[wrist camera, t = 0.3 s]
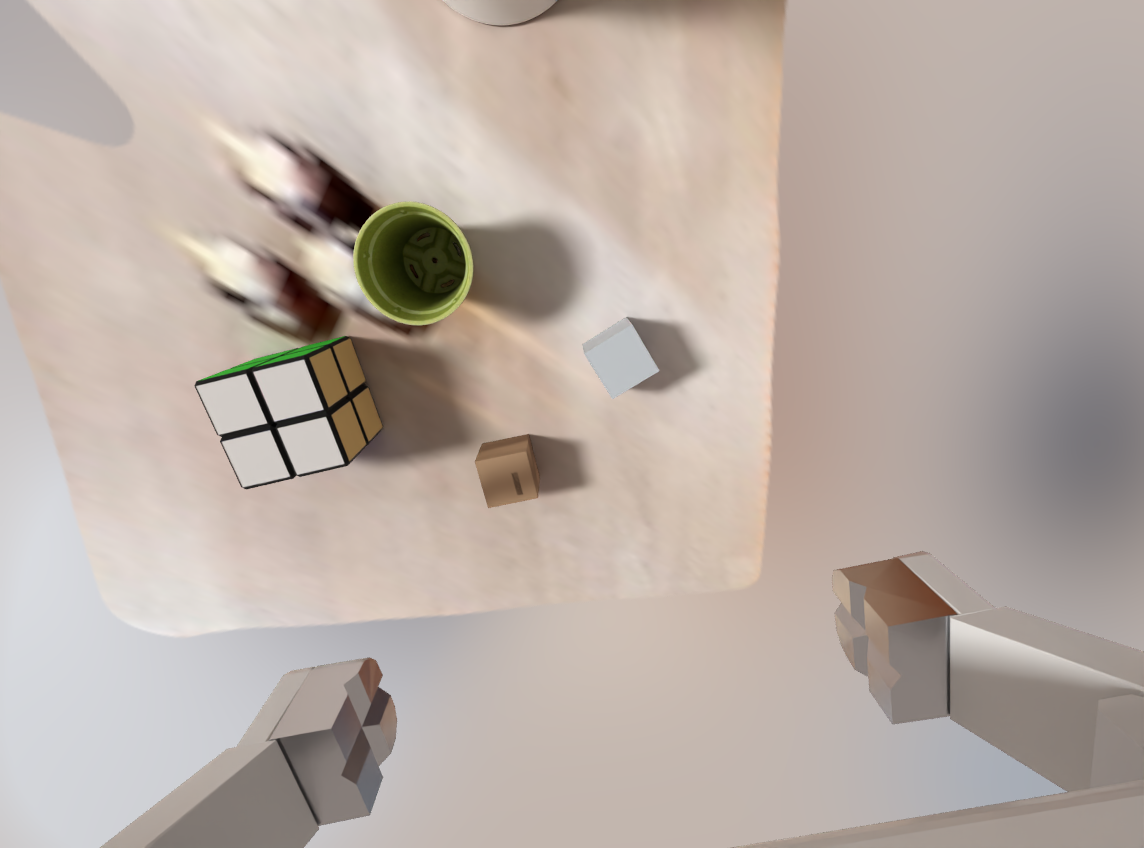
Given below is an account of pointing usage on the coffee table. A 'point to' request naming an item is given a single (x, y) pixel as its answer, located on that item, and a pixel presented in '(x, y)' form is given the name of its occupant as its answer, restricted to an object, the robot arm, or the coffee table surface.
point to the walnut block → (508, 471)
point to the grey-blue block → (619, 358)
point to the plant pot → (395, 247)
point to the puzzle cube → (292, 412)
